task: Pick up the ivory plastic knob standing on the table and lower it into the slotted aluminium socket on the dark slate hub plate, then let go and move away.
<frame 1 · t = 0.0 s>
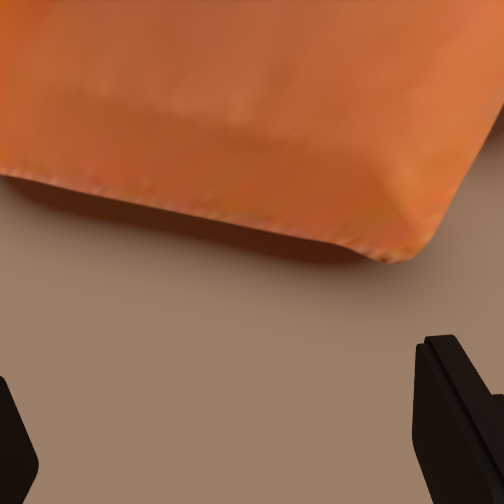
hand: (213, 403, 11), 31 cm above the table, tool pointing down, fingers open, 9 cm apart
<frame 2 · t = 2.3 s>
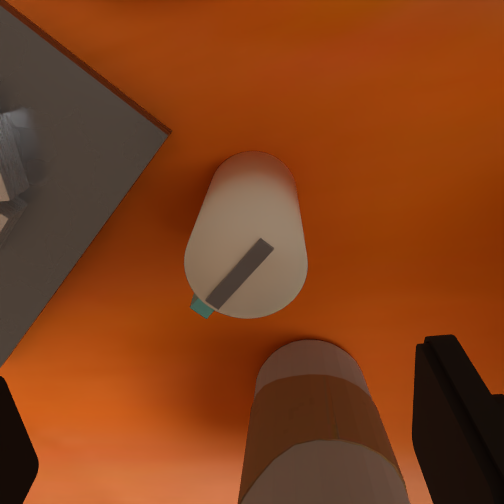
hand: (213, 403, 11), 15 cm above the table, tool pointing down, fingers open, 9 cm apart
coffee cup: (308, 376, 29), on the table
knob: (253, 194, 24), on the table
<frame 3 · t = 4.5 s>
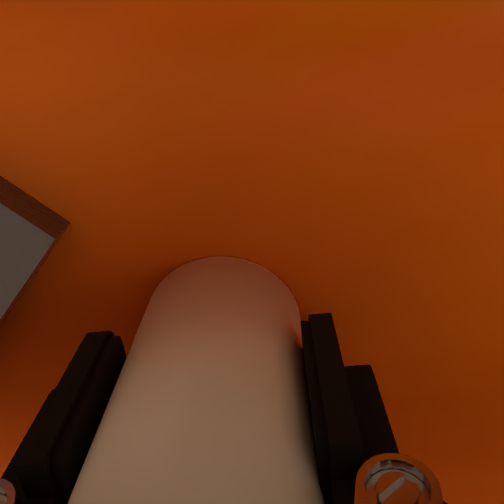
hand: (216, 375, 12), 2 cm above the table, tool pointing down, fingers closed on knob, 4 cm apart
knob: (223, 325, 14), on the table, touching gripper
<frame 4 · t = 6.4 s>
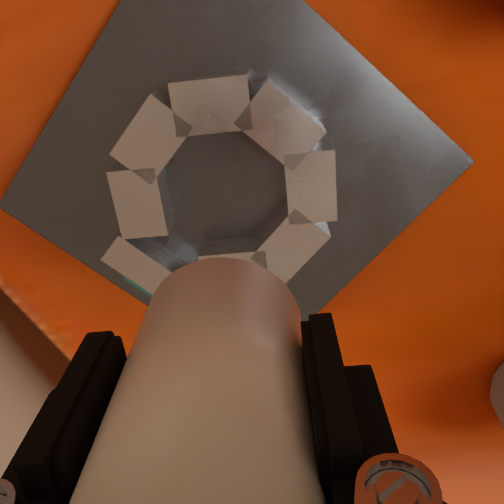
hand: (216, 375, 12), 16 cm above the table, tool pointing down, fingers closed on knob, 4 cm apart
hub plate: (228, 179, 26), on the table
knob: (224, 326, 14), point 14 cm above the table, touching gripper
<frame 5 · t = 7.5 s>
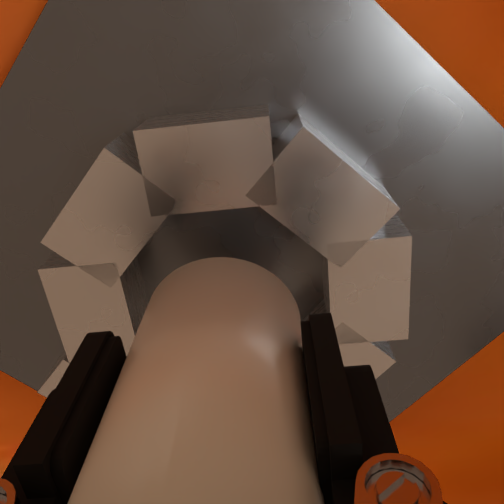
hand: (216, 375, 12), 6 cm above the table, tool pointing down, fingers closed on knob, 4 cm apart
hub plate: (233, 261, 17), on the table
knob: (223, 326, 14), point 4 cm above the table, touching gripper
when the fingers open (4 cm above the table, at t = 8.6 s): knob stays where it is, resting on hub plate.
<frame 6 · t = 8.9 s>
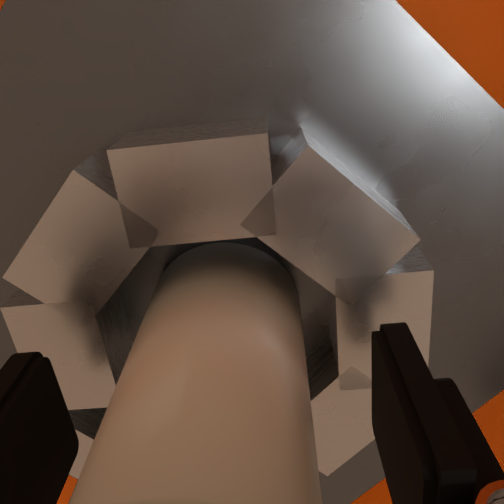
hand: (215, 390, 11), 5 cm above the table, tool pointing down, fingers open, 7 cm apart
hub plate: (227, 290, 15), on the table
knob: (226, 307, 15), point 1 cm above the table, touching hub plate
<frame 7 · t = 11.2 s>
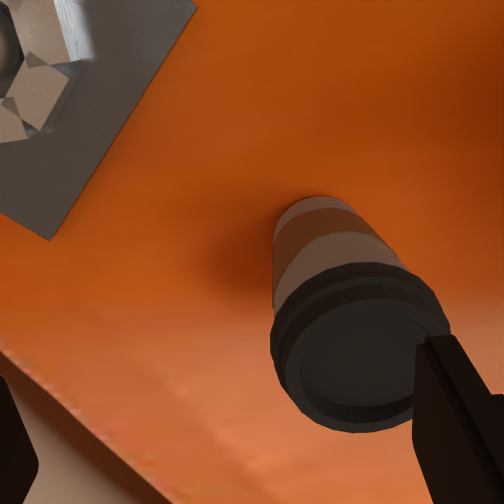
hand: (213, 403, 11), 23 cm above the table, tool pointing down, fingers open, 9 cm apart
coffee cup: (316, 234, 35), on the table
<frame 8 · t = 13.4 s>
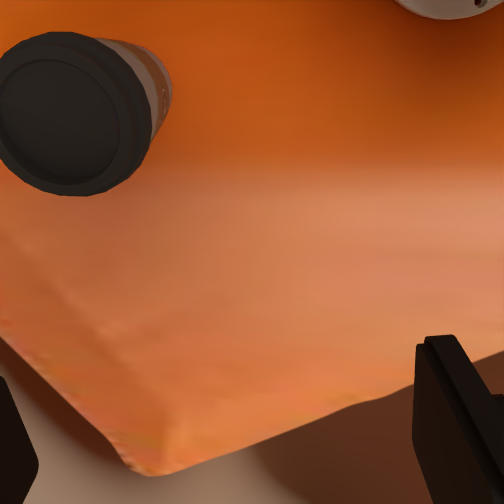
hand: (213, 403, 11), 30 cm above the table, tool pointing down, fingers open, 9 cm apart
coffee cup: (132, 87, 37), on the table
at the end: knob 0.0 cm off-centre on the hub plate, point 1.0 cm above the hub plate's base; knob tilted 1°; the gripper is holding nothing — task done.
